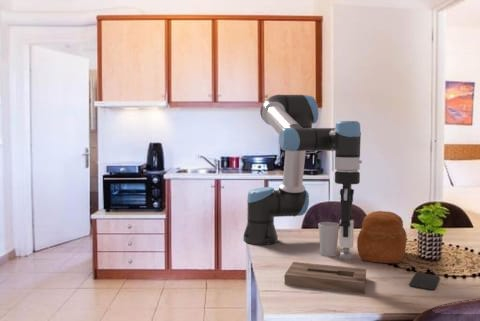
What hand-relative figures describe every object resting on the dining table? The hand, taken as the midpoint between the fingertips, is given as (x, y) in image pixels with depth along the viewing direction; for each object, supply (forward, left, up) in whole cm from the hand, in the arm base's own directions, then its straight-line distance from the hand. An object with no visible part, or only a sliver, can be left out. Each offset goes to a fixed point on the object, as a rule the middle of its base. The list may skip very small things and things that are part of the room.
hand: (346, 245), depth 133 cm
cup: (-32, -9, -13) cm, 36 cm away
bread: (-36, +11, -13) cm, 40 cm away
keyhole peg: (0, 0, -4) cm, 4 cm away
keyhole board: (0, -6, -12) cm, 14 cm away
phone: (-10, +24, -13) cm, 29 cm away
